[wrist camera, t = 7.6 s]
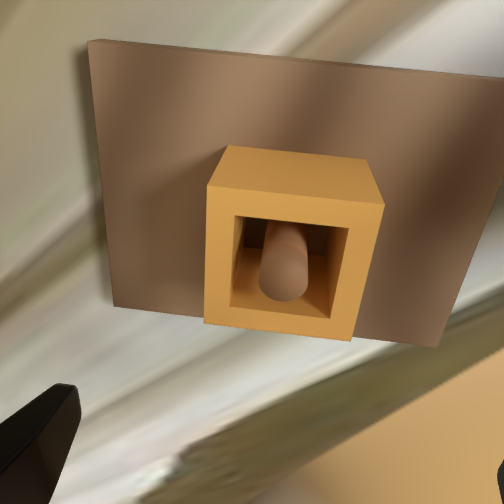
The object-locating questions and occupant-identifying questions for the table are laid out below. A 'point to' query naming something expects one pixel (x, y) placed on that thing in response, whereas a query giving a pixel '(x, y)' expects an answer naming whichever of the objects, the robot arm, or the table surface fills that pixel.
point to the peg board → (302, 141)
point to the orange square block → (294, 210)
